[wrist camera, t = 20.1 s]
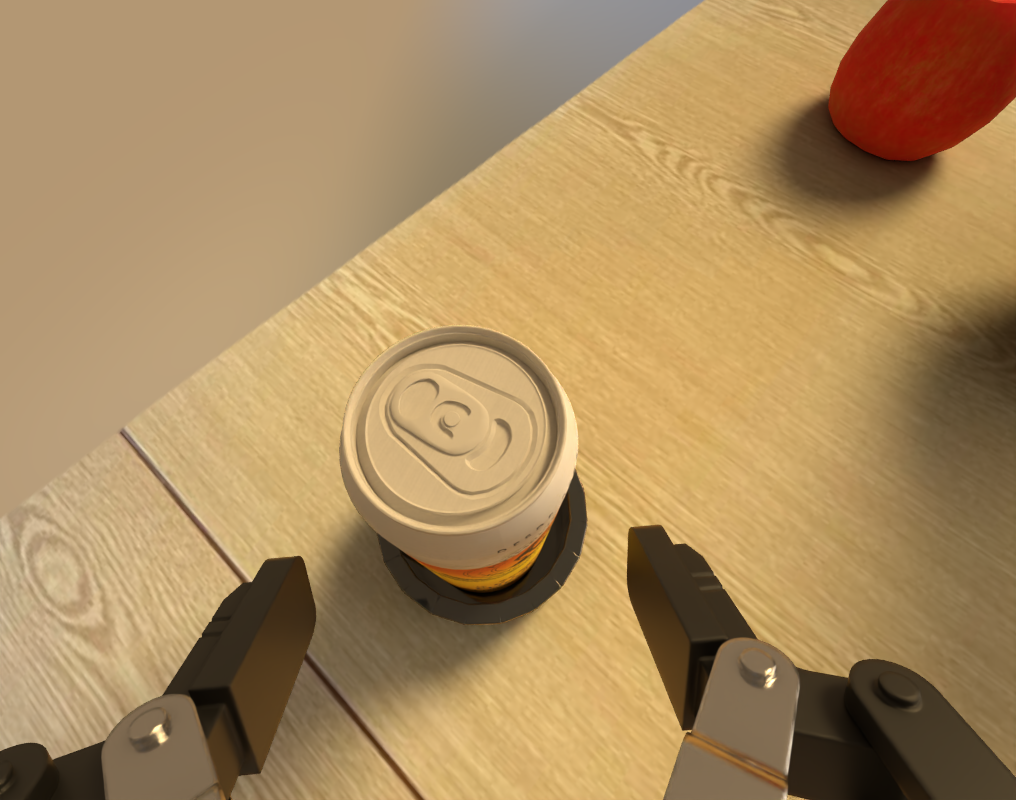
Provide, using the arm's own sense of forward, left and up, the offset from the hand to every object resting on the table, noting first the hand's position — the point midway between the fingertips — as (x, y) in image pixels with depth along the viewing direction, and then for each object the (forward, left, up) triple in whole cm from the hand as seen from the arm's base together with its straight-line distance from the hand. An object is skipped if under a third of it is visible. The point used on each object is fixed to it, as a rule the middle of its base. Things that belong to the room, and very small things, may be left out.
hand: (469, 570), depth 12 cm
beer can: (+2, +2, -13) cm, 13 cm away
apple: (+45, -6, -14) cm, 47 cm away
